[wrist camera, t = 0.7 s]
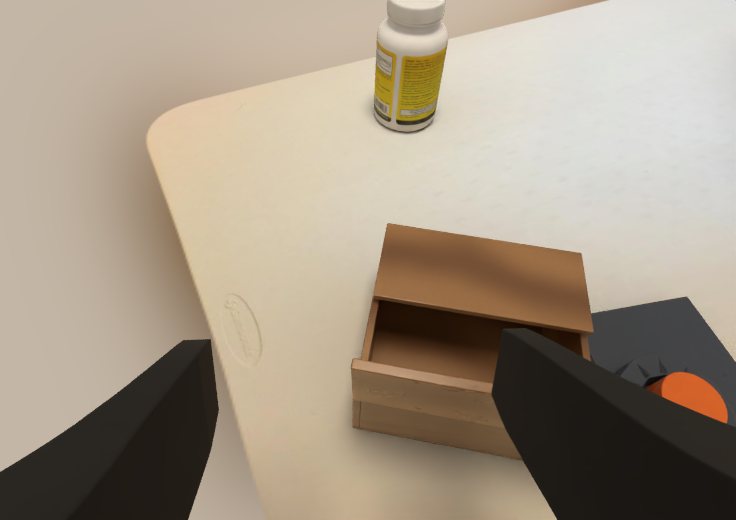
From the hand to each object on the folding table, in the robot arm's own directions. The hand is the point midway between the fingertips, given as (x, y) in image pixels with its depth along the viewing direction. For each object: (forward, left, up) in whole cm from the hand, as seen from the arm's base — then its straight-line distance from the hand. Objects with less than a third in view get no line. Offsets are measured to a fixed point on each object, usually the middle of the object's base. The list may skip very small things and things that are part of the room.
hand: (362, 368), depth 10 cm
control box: (+2, -20, -16) cm, 26 cm away
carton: (+5, -8, -16) cm, 18 cm away
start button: (-1, -18, -13) cm, 22 cm away
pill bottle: (+31, -11, -16) cm, 37 cm away
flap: (0, -6, -7) cm, 9 cm away
